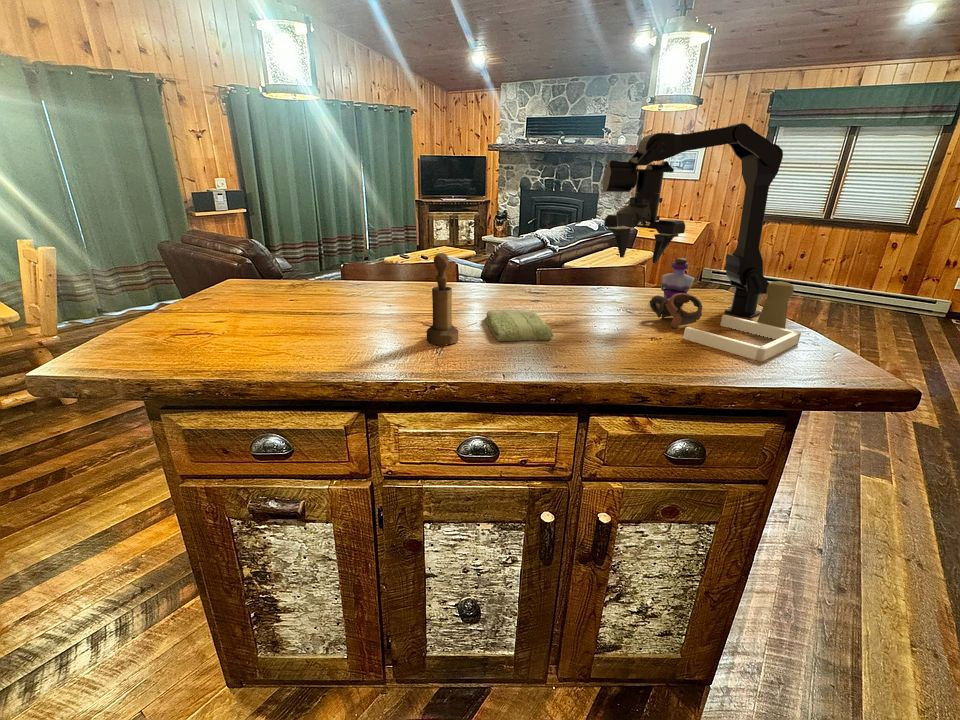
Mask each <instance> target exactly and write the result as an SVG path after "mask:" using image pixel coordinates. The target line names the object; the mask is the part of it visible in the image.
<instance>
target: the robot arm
mask: <svg viewBox="0 0 960 720" xmlns="http://www.w3.org/2000/svg"><path fill="white" fill-rule="evenodd" d="M723 145H728V146H730V148H731V150H732V152H733V153H734V155H735V156H736V157H737V158H738V159H739V160H740V161H741V162H740V163H741V176H742V179H743V183H744V185H745V190H744V196H743V203H742V208H741V209H742V210H741V211H742V212H741V217H740V225H739V231H738V236H737V237H738V238H737V244H736V248H735V250H734V251H733V253H732V254H730V253H727V254H725V255H726V256H725V266H724V267H723V271H725V273H726V277H727V278H728V279H729V283H730V286H731V287H734V288H735V289H734V293H733V297H732V301H731V305H730V308H726V309H724V312H725V313H729V314H732V315H733V314H734V315H738V316H741V317H747V318H752V317H755V316H758V315H760V314H761V311H760V310H757V307H758V304H759V299H760V296H761V295H762V294H767V287H768V285H769V284H770V283H769V281H768V280H767V279H766V277H765V276H764V261H763V256H762V254H761V251H760V247H761V246H760V245H761V239H762V233H763V227H764V220H765V214H766V207H767V203H768V196H769V195H768V194H769V190H770V186H771V184H772V182H773V181H774V179H776V176H777V175H778V173H779V171H780V167H781V164H782V161H783V158H784V150H783V149H782V148H781V147H780V145H778V144H777V143H772V142H771V141H770V140H769V139H767V138H766V137H765V136H763V135H761V134H760V133H758V132H756V131H754V130H753V129H752V127H751V126H749V124H746V123H744V122H740V123H734V124H731V125H729V126H724V127H719V128H713V129H712V128H711V129H707V130H701V131H695V132H690V133H678V132H677V133H676V132H656V133H653V134H652V133H651V134H648V135H645V136H644V137H643V138H642V139H641V140H640V141H639V144H638V147H637V149H636V151H635V152H634V153H633V155H632V156H631V157H630V159H629V160H628V161H619V160H613V159H612V160H611V159H610V160H607V166H606V168H605V170H604V175H603V176H602V190H603V192H604V193H629V192H631V190H632V189H634V188H635V191H634V196H631V197H630V199H629V204H628V205H626V206H624V207H623V208H621V209H619V210H617V211H616V212H615V213H616V214H607V216H606V217H605V218H604V221H603V227H606V228H607V227H608V228H607V229H608V231H610V232H611V233H612V234H613V236H614V237H615V241H616V244H617V249H618V255H619V258H624V257H625V254H626V251H627V247H628V243H629V239H630V234H631V229H632V228H641V229H642V228H643V229H650V230H656V232H657V233H655V234H653V236H654V239H655V243H654V248H653V254H652V264H657V262H658V260H659V259H660V258H661V256H662V255H663V253H664V251H665V250H666V248H667V247H668V246H669V244H670V243H671V242H672V241H673V239H674V238H675V237H677V238H678V237H679V235H681V234H685V231H686V223H685V221H684V220H681V219H680V220H679V219H671V218H669V219H660V218H661V216H660V215H658V211H659V205H660V203H661V204H662V203H663V199H664V198H663V197H661V193H662V187H663V180H664V174H665V173H674V171H675V169H674V168H673V167H672V166H671V165H670V163H669V161H667V159H670V158H673V157H675V156H677V155H679V154H681V153H685V152H687V151H688V152H689V151H694V150H699V149H705V148H711V147H718V146H723ZM663 160H665V161H663ZM661 161H662V162H661ZM653 162H661V163H660V164H654V163H653ZM651 163H653V164H651ZM640 166H644V167H645V166H646V167H645V169H643V168H641V169H640V168H638V167H640Z"/></svg>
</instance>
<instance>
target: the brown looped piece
mask: <svg viewBox="0 0 960 720" xmlns="http://www.w3.org/2000/svg"><path fill="white" fill-rule="evenodd" d="M690 301H691V303H693V306H694V307H696V308H697V310H696V311H692V312H687V311H685V310H684V309H682V306H683V305H684V304H687V303H689V302H690ZM658 305H659V306H658ZM649 307H650V309H651V311H652V312H654V313H655V314H656V316H657V318H658V319H659V318H661V319H664V317H665V318H667V317H673V318H672V320H671V321H670V323H669V326H670V327H671V328H672V329H673V328H674V329H677V328H679V326H686V325H690V324H695V323H697V321H699V320H700V319H701V317H702V316H703V312H702V310H703V303H702V302H701V301H700V299H698V298H697V297H696V296H694V295H691V294H689V293H687V294H686V293H677V294H674V295H673V296H672V297H671V298H669V299H666V298H664V296H661V295H654V296H652V298H651V299H650V300H649Z"/></svg>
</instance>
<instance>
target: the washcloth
mask: <svg viewBox="0 0 960 720" xmlns="http://www.w3.org/2000/svg"><path fill="white" fill-rule="evenodd" d="M484 323H486V325H487V326H489V327H488V329H489V330H490V331H491V333H492V335H493V336H494V337H495V339H496V340H497V341H498V340H499V342H501V341H502V342H521V341H532V340H533V341H534V342H535V341H536V342H537V341H542V340H543V341H550V340H551V339H552V337H553V334H554V333H553V332H552V328H551V327H550V326H549V325H548V324H546V323H545V321H544V320H543V319H542V318H541V317H540V315H539V314H538V313H537V312H534V311H525V310H524V311H523V310H522V311H521V310H503V311H495V310H489V311H487V312H486V317H484Z"/></svg>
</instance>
